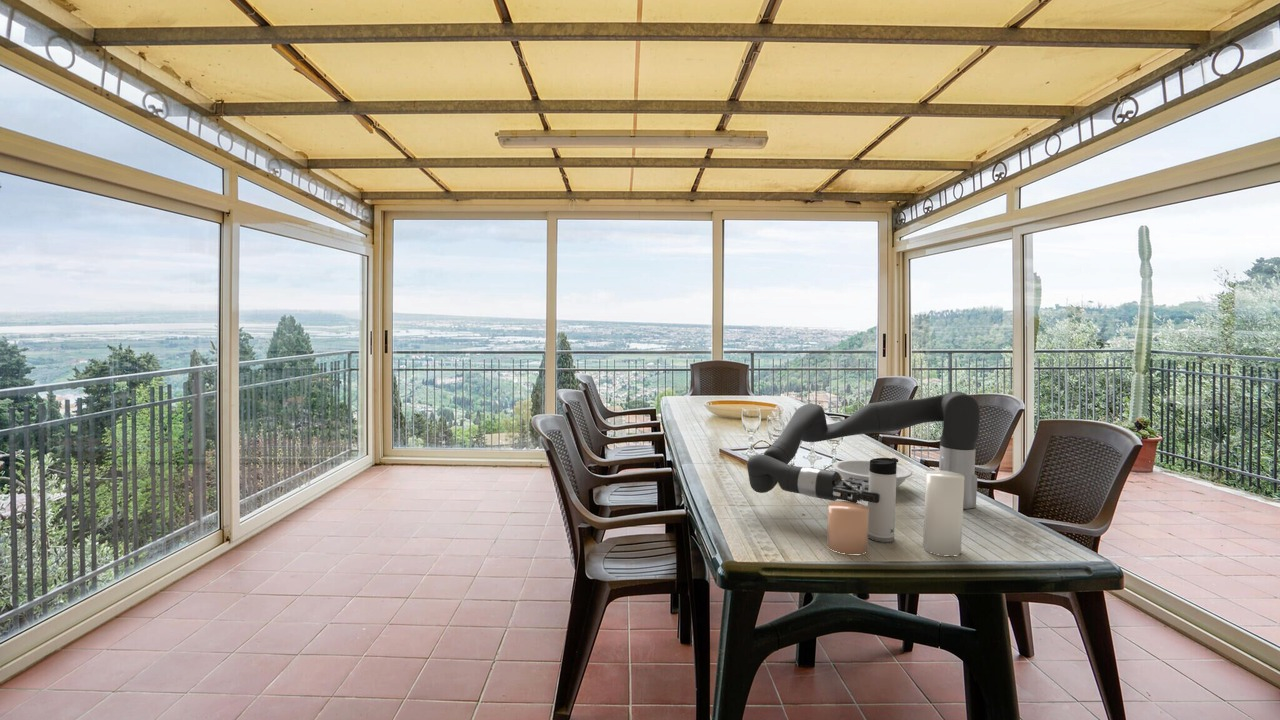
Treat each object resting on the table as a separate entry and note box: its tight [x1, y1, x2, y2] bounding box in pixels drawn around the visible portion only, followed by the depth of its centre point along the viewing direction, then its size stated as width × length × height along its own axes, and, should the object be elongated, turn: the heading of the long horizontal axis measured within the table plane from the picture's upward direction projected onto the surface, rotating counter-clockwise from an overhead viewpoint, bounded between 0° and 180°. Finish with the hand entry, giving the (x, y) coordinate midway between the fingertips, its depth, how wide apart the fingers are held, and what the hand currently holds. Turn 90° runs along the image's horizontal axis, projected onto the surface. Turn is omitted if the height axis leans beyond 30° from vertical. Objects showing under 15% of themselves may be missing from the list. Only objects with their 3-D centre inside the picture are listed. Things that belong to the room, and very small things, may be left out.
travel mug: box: [867, 457, 899, 543], centre depth 145 cm, size 6×7×20 cm
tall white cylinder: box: [922, 469, 964, 556], centre depth 138 cm, size 8×8×18 cm
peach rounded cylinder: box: [826, 500, 869, 554], centre depth 138 cm, size 9×9×10 cm
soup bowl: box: [832, 459, 913, 488], centre depth 191 cm, size 24×24×7 cm
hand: (883, 494), depth 145 cm, fingers open, 8 cm apart
